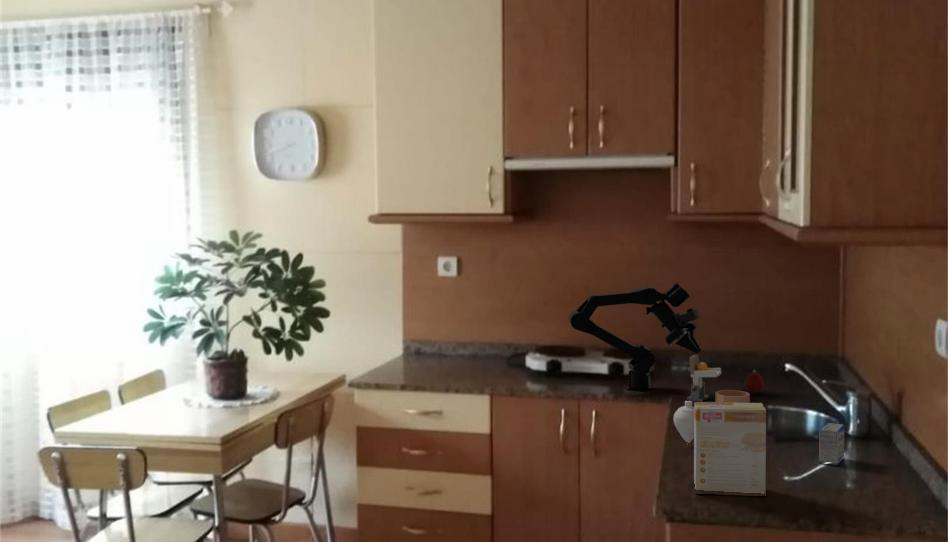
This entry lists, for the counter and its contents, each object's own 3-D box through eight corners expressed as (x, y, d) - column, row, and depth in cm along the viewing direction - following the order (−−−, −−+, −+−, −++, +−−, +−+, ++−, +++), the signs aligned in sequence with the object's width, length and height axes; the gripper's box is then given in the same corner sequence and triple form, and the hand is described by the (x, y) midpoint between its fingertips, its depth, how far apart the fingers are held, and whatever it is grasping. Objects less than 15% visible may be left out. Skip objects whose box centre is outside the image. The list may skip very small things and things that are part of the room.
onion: (764, 396, 303) (764, 371, 302) (745, 395, 304) (746, 371, 303) (762, 392, 309) (762, 368, 308) (744, 391, 310) (744, 368, 309)
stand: (686, 400, 297) (686, 385, 297) (693, 396, 304) (694, 380, 304) (702, 402, 295) (702, 386, 294) (709, 397, 302) (709, 382, 301)
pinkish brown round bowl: (711, 404, 292) (711, 394, 292) (720, 398, 301) (720, 388, 301) (744, 407, 287) (744, 398, 287) (752, 401, 296) (752, 391, 296)
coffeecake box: (761, 487, 209) (762, 402, 208) (766, 498, 202) (767, 409, 201) (693, 485, 212) (693, 400, 210) (695, 495, 205) (696, 407, 203)
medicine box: (837, 466, 225) (838, 431, 224) (818, 464, 227) (819, 429, 226) (844, 458, 231) (844, 424, 231) (825, 456, 234) (826, 422, 233)
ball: (697, 375, 297) (693, 364, 298) (700, 373, 300) (696, 362, 301) (707, 372, 295) (703, 361, 296) (710, 370, 298) (706, 360, 299)
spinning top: (667, 444, 246) (667, 399, 245) (691, 441, 249) (691, 396, 248) (684, 451, 239) (685, 405, 238) (709, 448, 242) (709, 402, 241)
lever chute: (691, 389, 297) (689, 357, 297) (697, 386, 302) (694, 354, 302) (717, 390, 293) (714, 357, 293) (722, 386, 298) (719, 354, 298)
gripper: (675, 304, 301) (708, 340, 297) (692, 298, 318) (724, 332, 313) (651, 326, 306) (684, 362, 301) (669, 319, 322) (700, 353, 318)
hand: (699, 352), depth 308 cm, fingers closed
